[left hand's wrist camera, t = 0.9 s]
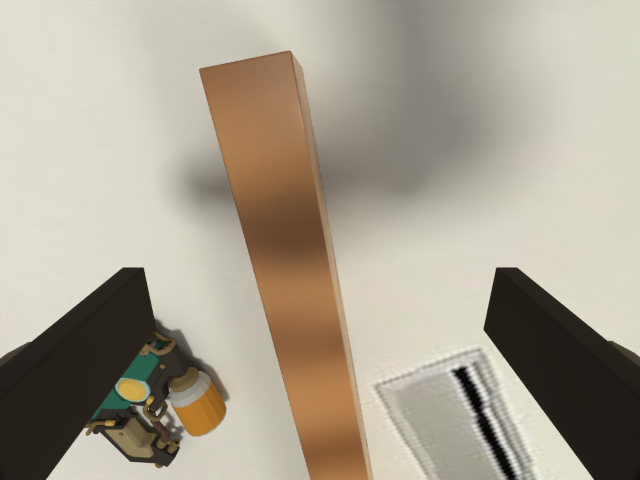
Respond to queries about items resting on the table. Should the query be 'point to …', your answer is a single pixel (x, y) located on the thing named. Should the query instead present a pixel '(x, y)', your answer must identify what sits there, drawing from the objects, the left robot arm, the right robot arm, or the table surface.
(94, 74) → the table surface
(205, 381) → the spray gun
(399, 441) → the table surface
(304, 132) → the post
